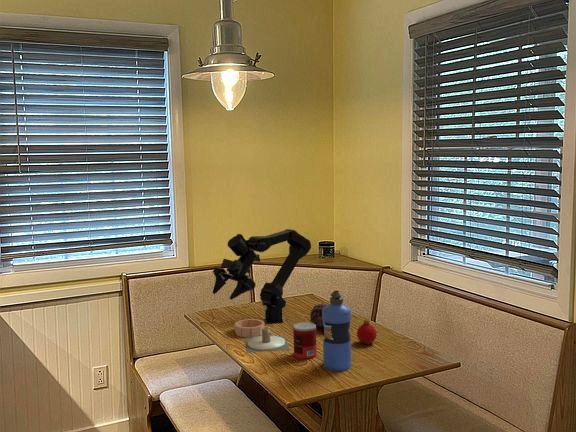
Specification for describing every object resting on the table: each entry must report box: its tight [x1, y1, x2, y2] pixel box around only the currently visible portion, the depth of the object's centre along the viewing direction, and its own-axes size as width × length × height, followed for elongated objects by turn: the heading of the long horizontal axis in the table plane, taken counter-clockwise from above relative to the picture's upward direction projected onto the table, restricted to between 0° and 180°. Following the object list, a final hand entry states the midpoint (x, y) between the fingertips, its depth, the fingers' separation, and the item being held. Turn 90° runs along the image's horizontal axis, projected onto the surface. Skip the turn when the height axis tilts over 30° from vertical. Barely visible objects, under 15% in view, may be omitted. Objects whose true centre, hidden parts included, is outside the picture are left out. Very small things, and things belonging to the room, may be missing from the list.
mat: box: [244, 335, 291, 354], centre depth 214 cm, size 15×15×1 cm
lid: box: [248, 327, 285, 350], centre depth 214 cm, size 14×14×5 cm
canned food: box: [292, 321, 317, 361], centre depth 201 cm, size 8×8×11 cm
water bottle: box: [322, 290, 352, 372], centre depth 192 cm, size 9×9×25 cm
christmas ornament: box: [356, 316, 378, 345], centre depth 213 cm, size 7×7×10 cm
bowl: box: [234, 318, 266, 338], centre depth 227 cm, size 11×12×4 cm
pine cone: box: [309, 303, 330, 329], centre depth 230 cm, size 18×10×10 cm, turn 18°
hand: (221, 296), depth 222 cm, fingers open, 9 cm apart
